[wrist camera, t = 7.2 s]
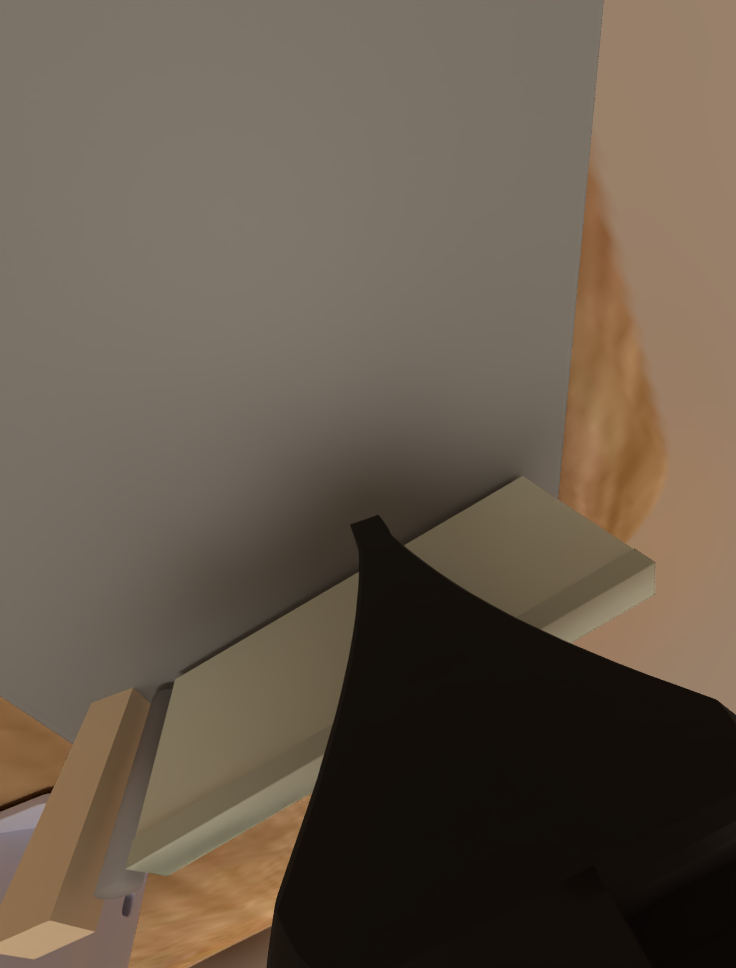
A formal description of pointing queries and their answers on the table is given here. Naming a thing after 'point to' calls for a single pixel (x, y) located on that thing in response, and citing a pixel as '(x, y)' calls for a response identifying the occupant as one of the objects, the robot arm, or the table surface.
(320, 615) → the gate
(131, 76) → the grey square baseplate
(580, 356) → the table surface
